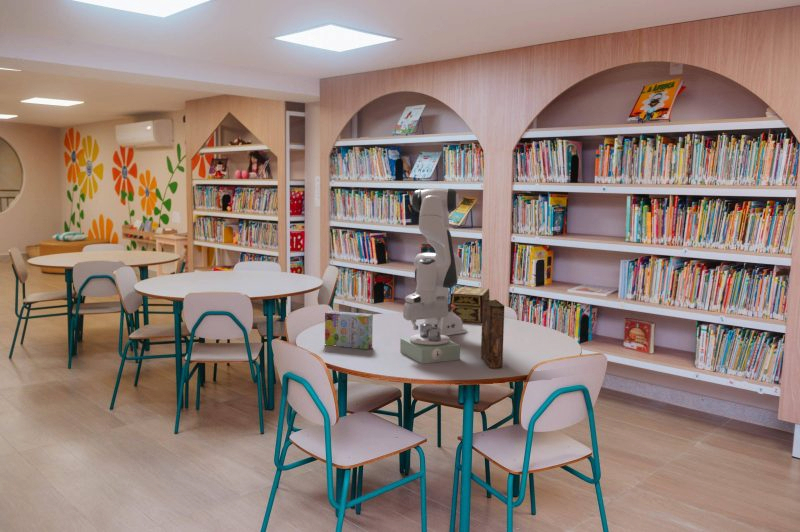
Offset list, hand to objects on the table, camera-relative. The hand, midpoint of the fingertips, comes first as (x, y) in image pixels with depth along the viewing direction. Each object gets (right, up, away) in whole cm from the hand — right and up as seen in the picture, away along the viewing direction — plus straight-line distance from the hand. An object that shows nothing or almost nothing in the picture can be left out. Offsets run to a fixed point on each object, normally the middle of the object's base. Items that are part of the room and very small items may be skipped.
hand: (425, 328), depth 274 cm
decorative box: (+28, -2, +79) cm, 84 cm away
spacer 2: (+3, -4, -7) cm, 9 cm away
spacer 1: (0, -3, 0) cm, 3 cm away
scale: (+2, -11, -2) cm, 11 cm away
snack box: (-34, -9, +12) cm, 37 cm away
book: (+26, -13, -13) cm, 32 cm away
